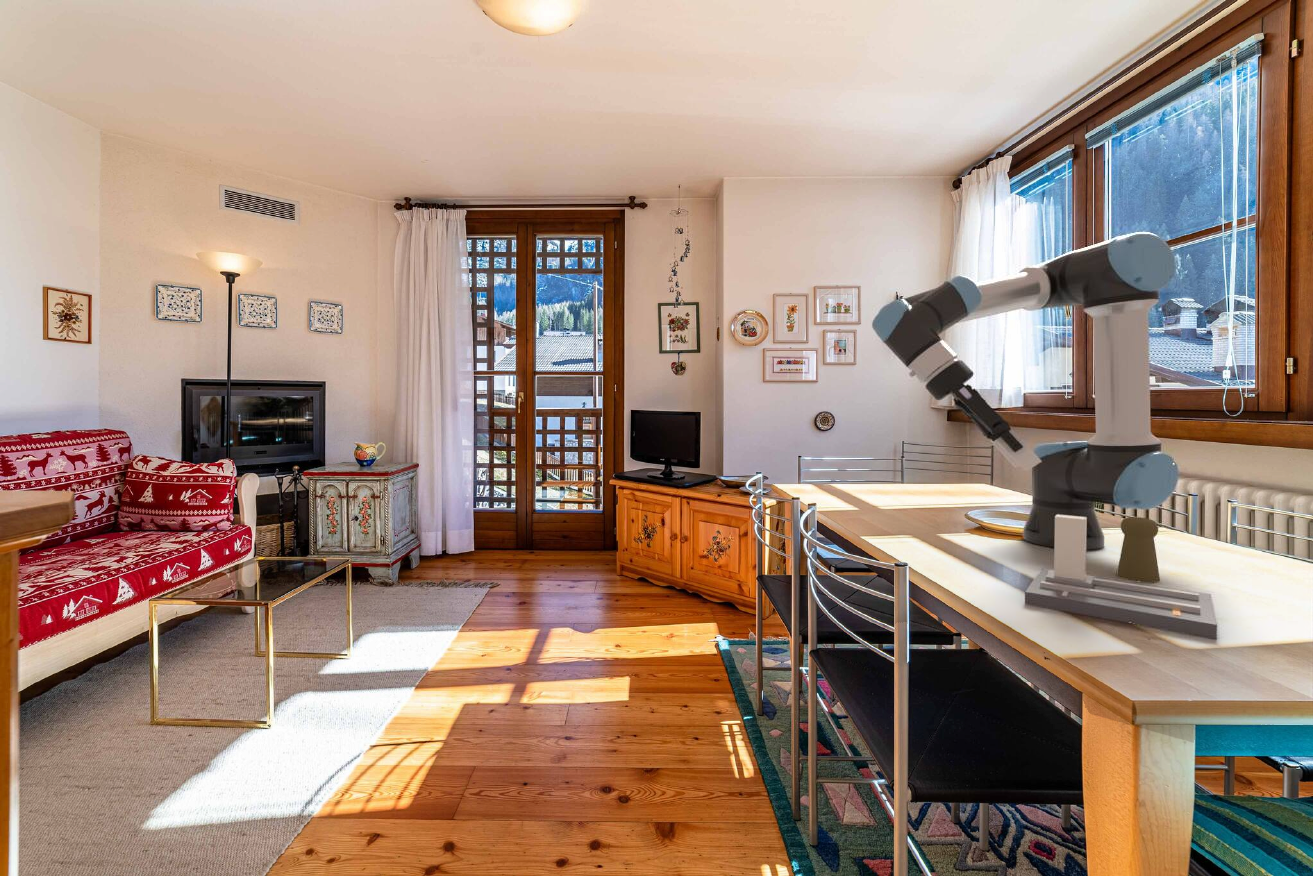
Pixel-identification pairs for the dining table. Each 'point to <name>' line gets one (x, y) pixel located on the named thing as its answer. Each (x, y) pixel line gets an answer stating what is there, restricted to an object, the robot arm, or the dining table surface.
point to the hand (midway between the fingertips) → (1028, 465)
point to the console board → (1129, 604)
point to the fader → (1070, 553)
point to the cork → (1139, 550)
